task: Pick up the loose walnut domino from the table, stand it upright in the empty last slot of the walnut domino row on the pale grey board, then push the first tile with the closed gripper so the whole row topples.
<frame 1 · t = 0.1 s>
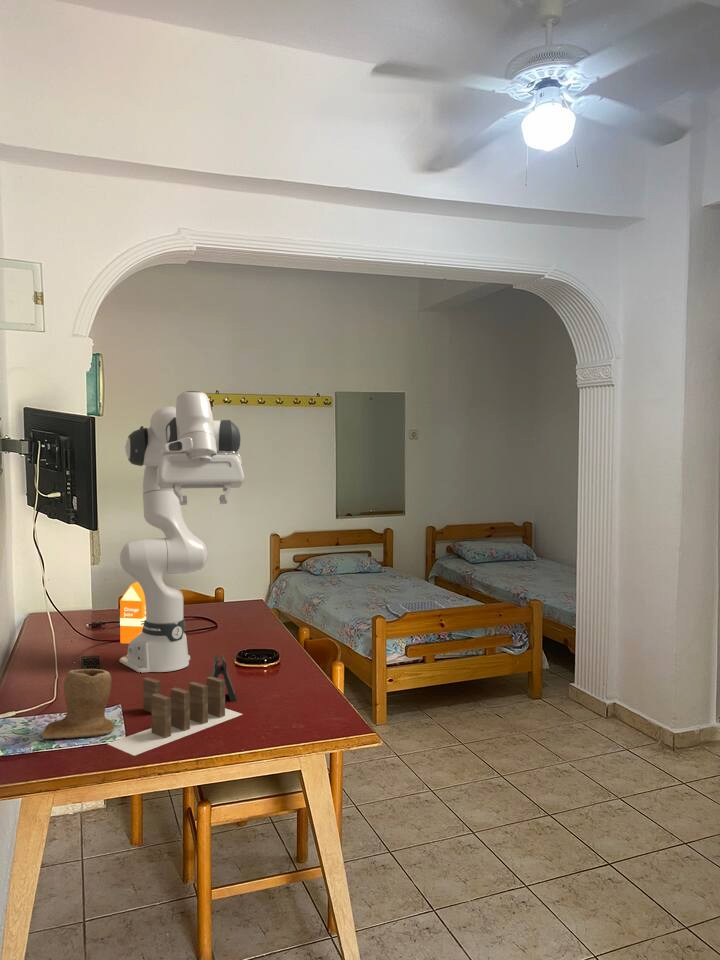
hand: (203, 503, 178), 54 cm above the table, tool tilted 30°, fingers open, 8 cm apart
domino 2: (198, 720, 185), point 1 cm above the table, touching board
domino 3: (180, 727, 180), point 1 cm above the table, touching board
domino 4: (161, 734, 176), point 1 cm above the table, touching board
domino 1: (215, 714, 189), point 1 cm above the table, touching board
brown boot: (80, 734, 178), on the table
dark grey a-frame stand: (219, 703, 201), on the table
board: (178, 732, 180), on the table
orange juice: (136, 640, 260), on the table
domino 5: (152, 715, 191), on the table
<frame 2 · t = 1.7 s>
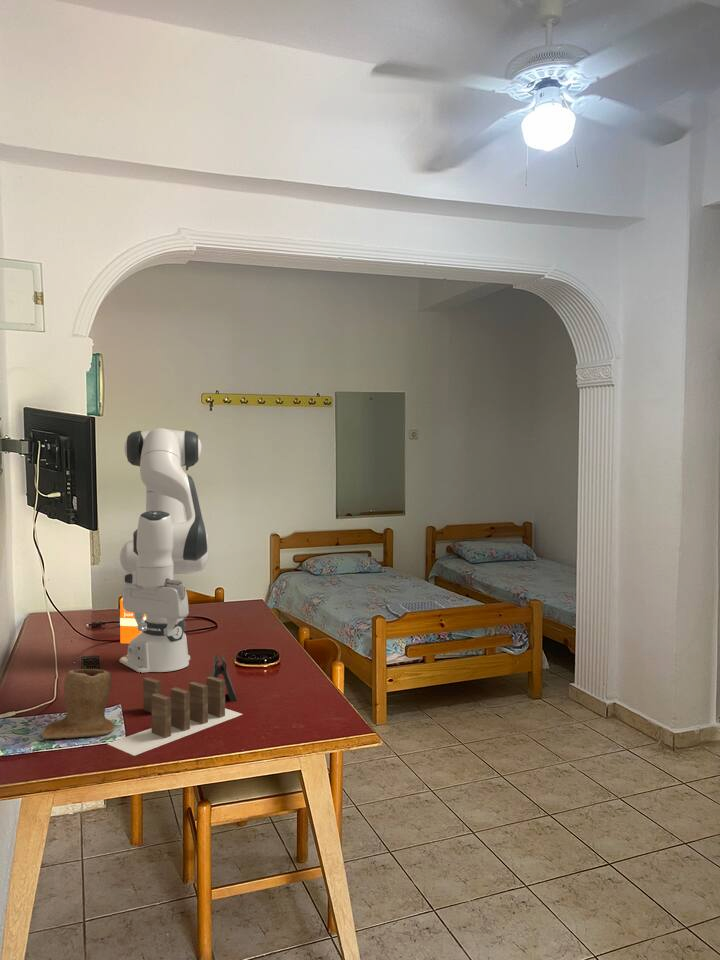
hand: (155, 633, 188), 21 cm above the table, tool pointing down, fingers open, 8 cm apart
nothing on the table moved.
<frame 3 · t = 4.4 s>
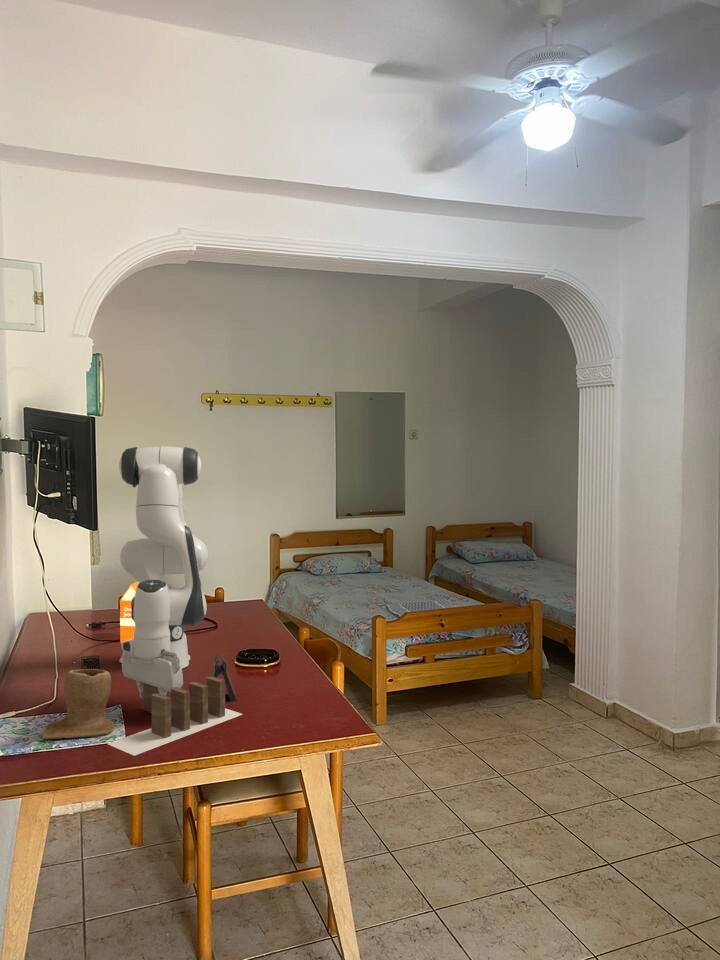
hand: (152, 700, 191), 4 cm above the table, tool pointing down, fingers closed on domino 5, 5 cm apart
domino 5: (152, 715, 191), on the table, touching gripper
everything else where it was.
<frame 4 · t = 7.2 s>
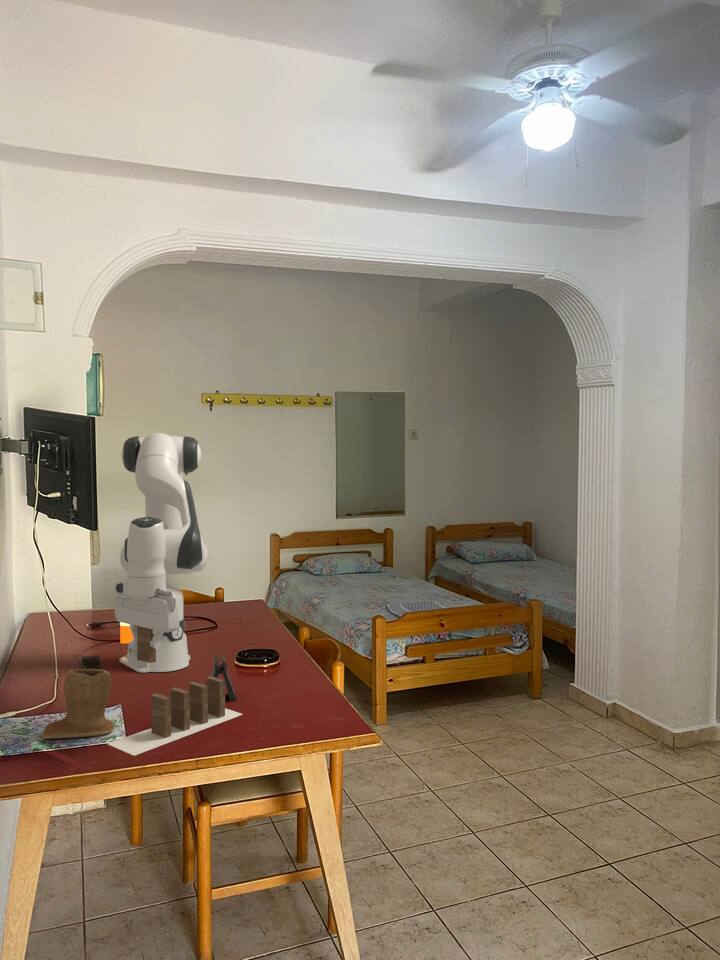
hand: (146, 645, 179), 21 cm above the table, tool pointing down, fingers closed on domino 5, 5 cm apart
domino 5: (146, 660, 179), point 17 cm above the table, touching gripper
everything else where it was.
when the fingers open (6 cm above the table, at t = 10.2 s): domino 5 stays where it is, resting on board.
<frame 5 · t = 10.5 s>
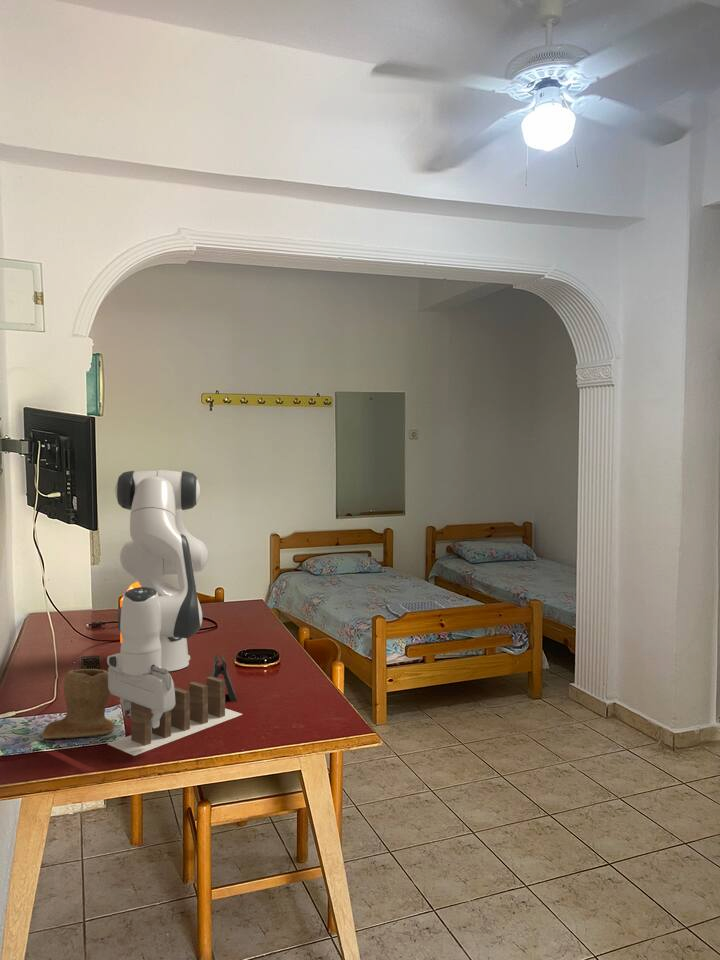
hand: (141, 721, 171), 6 cm above the table, tool pointing down, fingers open, 8 cm apart
domino 5: (141, 741, 172), point 1 cm above the table, touching board
everything else where it was.
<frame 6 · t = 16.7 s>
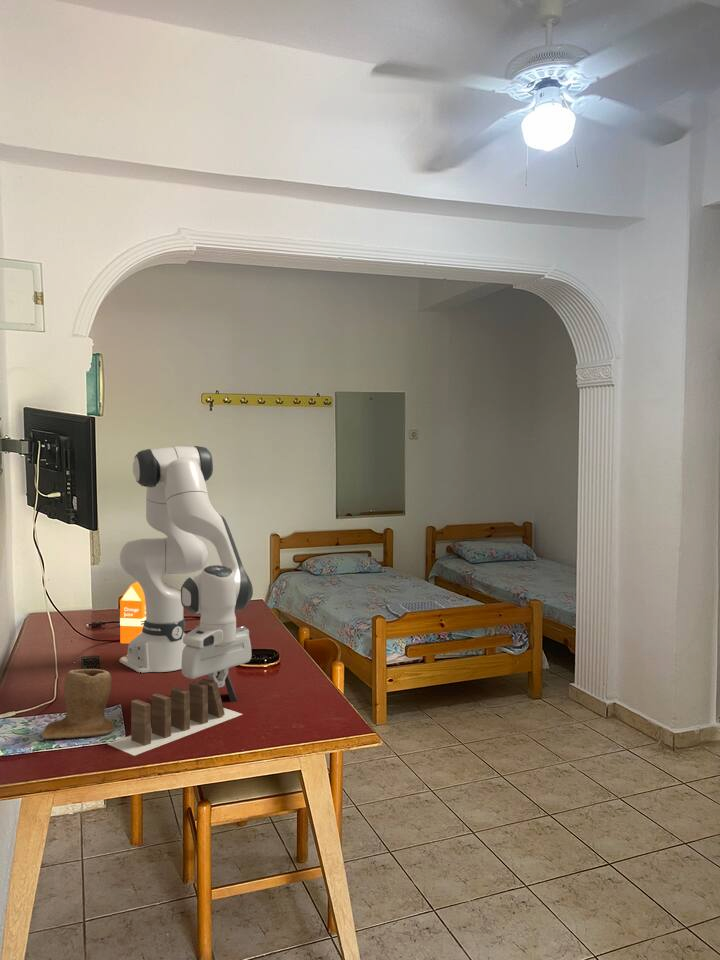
hand: (218, 687, 189), 8 cm above the table, tool pointing down, fingers closed
domino 1: (215, 713, 189), point 1 cm above the table, tilted 16°, touching board
everything else where it was.
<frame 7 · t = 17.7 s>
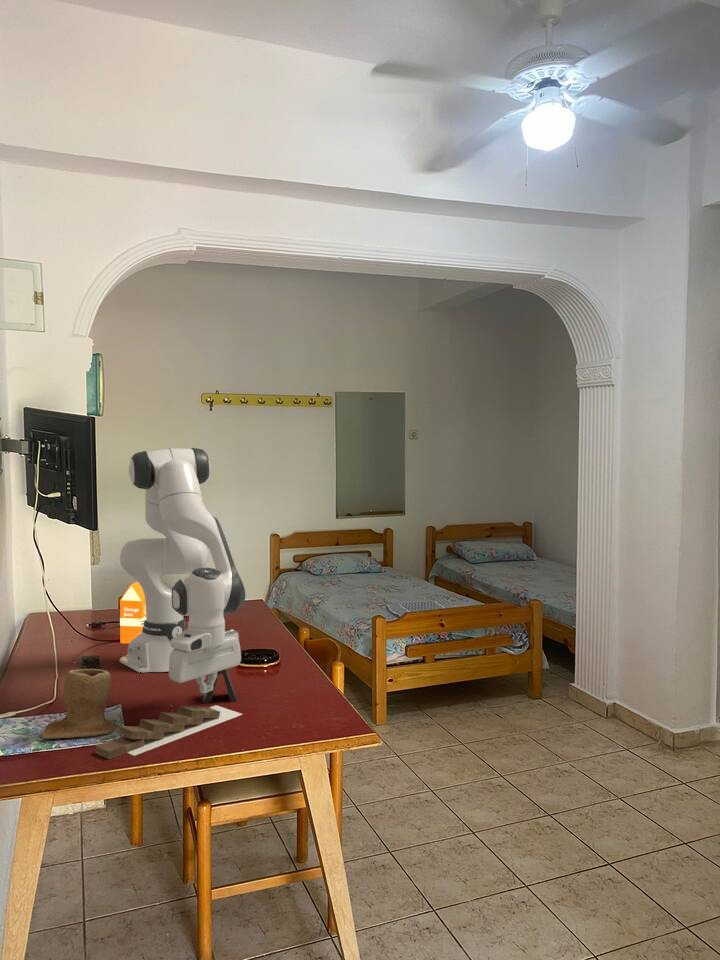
hand: (206, 691, 186), 8 cm above the table, tool pointing down, fingers closed
domino 2: (195, 718, 184), point 2 cm above the table, tilted 73°, touching board, domino 1, domino 3
domino 3: (177, 725, 179), point 2 cm above the table, tilted 73°, touching board, domino 2, domino 4
domino 4: (156, 732, 175), point 2 cm above the table, tilted 73°, touching board, domino 3, domino 5
domino 1: (212, 712, 188), point 2 cm above the table, tilted 73°, touching board, domino 2
domino 5: (137, 739, 171), point 2 cm above the table, tilted 90°, touching board, domino 4
everything else where it was.
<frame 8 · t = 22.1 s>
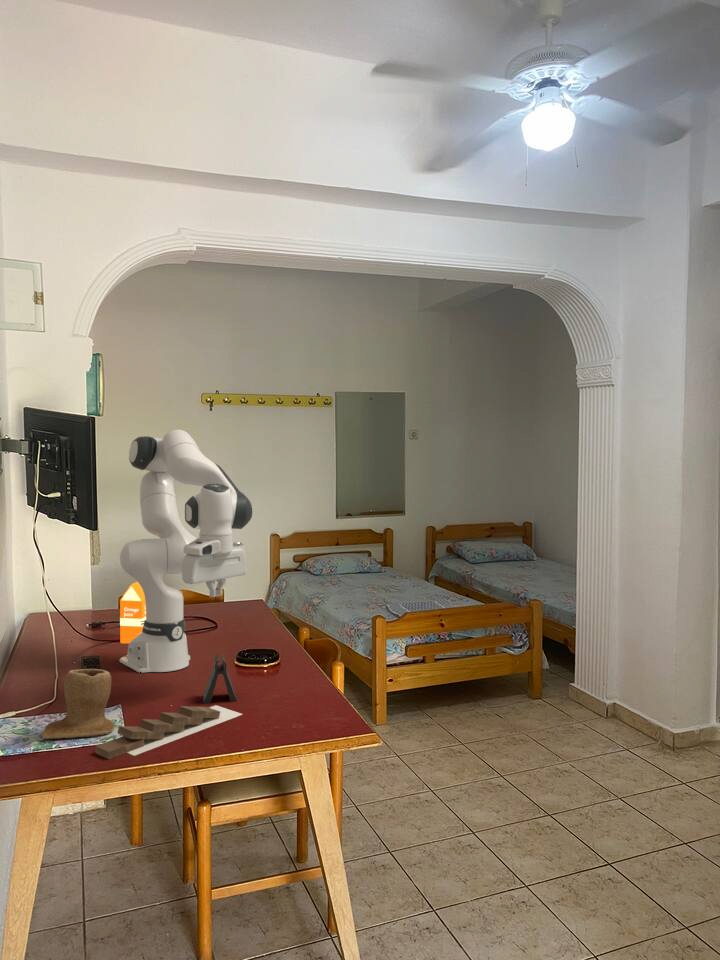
hand: (215, 596, 204), 27 cm above the table, tool pointing down, fingers closed
nothing on the table moved.
at the end: domino 5 tilted 90°; domino 1 tilted 73°; domino 5 inside the target area (0.0 cm from its centre), point 1.8 cm above the table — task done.
